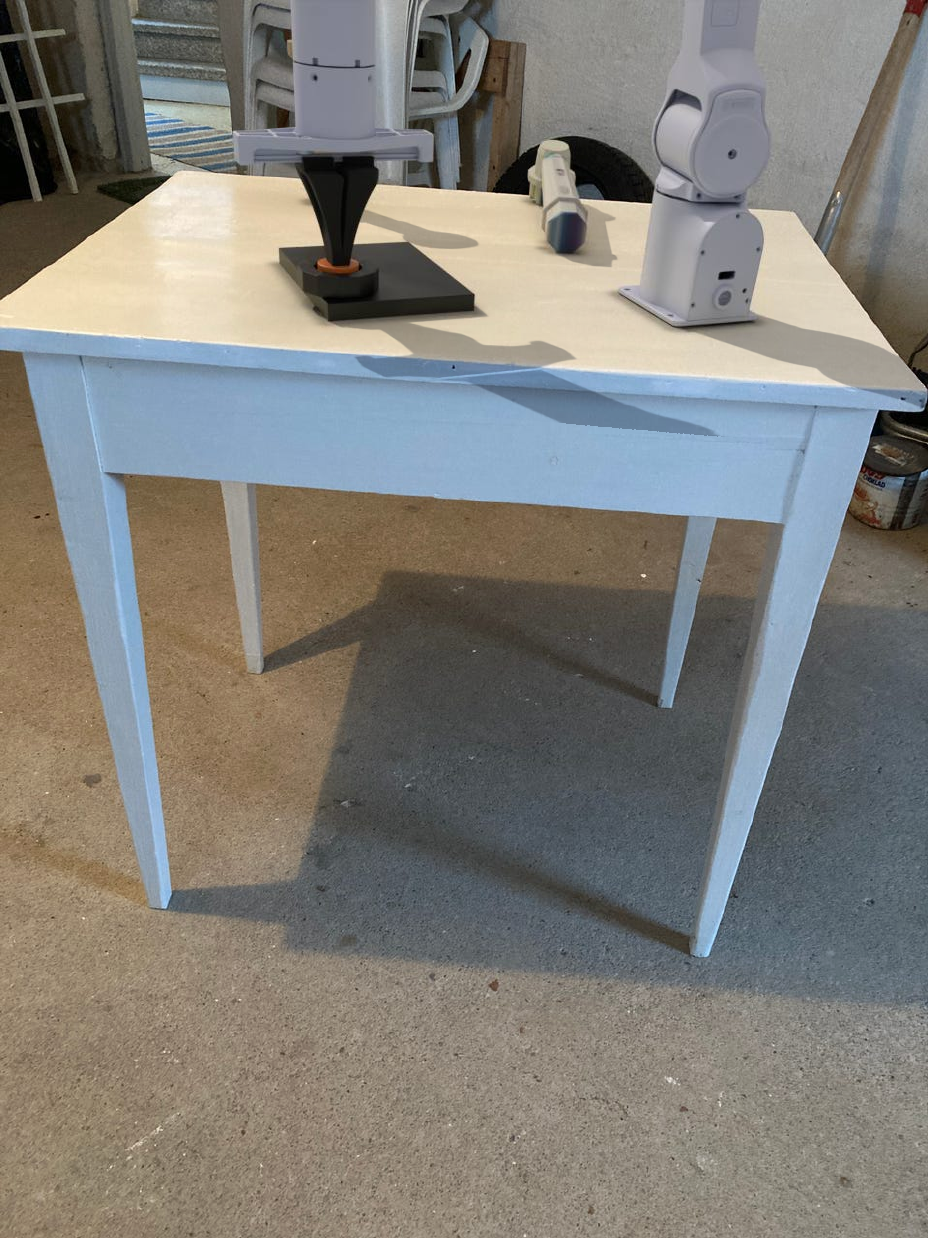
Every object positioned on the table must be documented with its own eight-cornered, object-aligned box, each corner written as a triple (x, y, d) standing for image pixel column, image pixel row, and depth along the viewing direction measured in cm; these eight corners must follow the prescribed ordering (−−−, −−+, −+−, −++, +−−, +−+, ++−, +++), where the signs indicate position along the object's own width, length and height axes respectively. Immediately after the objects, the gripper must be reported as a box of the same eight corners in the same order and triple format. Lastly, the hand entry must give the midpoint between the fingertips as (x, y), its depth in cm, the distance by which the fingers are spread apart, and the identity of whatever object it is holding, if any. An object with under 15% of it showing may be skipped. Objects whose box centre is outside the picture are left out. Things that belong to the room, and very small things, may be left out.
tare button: (364, 289, 77) (364, 266, 76) (324, 292, 76) (323, 269, 75) (352, 278, 79) (352, 255, 78) (313, 280, 78) (312, 257, 77)
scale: (474, 311, 79) (476, 273, 77) (314, 323, 74) (313, 283, 73) (408, 257, 91) (408, 222, 89) (267, 264, 86) (265, 228, 85)
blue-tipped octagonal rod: (541, 208, 92) (531, 124, 110) (534, 277, 97) (525, 186, 115) (597, 211, 92) (577, 127, 111) (587, 280, 97) (570, 188, 115)
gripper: (413, 57, 74) (409, 244, 82) (218, 53, 69) (233, 253, 77) (447, 70, 69) (439, 268, 77) (238, 66, 64) (252, 279, 72)
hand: (337, 262), depth 76 cm, fingers closed, pressing on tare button
